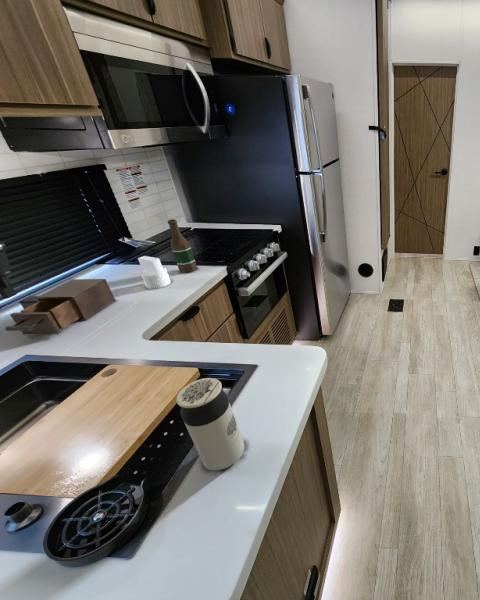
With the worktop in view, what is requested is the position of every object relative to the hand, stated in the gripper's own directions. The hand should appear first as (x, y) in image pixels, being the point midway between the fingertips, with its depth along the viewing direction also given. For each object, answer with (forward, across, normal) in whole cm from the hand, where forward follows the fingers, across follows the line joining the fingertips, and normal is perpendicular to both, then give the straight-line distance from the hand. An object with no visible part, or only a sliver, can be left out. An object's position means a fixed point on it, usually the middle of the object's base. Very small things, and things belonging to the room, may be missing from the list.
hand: (10, 296), depth 102 cm
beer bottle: (+15, -21, -54) cm, 60 cm away
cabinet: (+15, -2, -17) cm, 23 cm away
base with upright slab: (+15, -16, -39) cm, 45 cm away
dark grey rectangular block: (+15, +14, -17) cm, 27 cm away
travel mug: (+15, -82, +46) cm, 95 cm away
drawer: (+14, -2, -4) cm, 15 cm away
